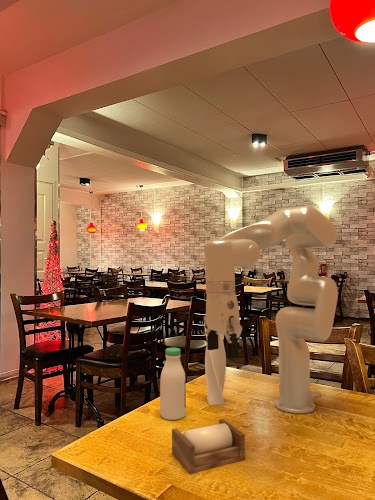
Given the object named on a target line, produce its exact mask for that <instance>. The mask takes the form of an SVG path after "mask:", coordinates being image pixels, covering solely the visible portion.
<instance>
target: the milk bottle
mask: <svg viewBox="0 0 375 500" xmlns="http://www.w3.org/2000/svg"><path fill="white" fill-rule="evenodd" d="M164 352H165V362H164V366H163V367H162V371H161V374H160V379H159V380H160V381H159V382H160V383H159V384H160V385H159V387H160V388H159V389H160V390H159V392H160V393H159V394H160V395H159V398H160V399H159V407H160V408H159V409H160V411H159V412H160V413H159V414H160V417H161V418H162V419H165V420H168V421H175V420H176V421H177V420H182V419H183V418H184V417H186V415H187V412H186V411H187V400H186V398H187V396H186V395H187V393H186V391H187V390H186V388H187V387H186V385H187V384H186V373H185V370H184V368H183V365H182V361H181V348H178V347H167V348H166V349H165V351H164Z"/></svg>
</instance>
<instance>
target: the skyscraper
mask: <svg viewBox="0 0 375 500" xmlns="http://www.w3.org/2000/svg"><path fill="white" fill-rule="evenodd" d="M203 326H204V331H205V338H206V339H207V334H206V328H205V322H204V325H203ZM216 334H218V344H219V348H218V349H215V350H208V349H207V344H206V347H205V352H204V353H205V355H204V356H205V357H204V369H205V371H204V372H205V382H206V383H205V384H206V392H207V394H206V401H207V402H208V406H217V405H219V406H220V405H226V403H225V399H224V397H223V393H224V388H225V381H226V372H227V356H226V350H225V349H226V347H225V345H224V339H225V338H224V337H225V334H222V333H219V332H217V333H216Z"/></svg>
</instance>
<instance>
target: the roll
mask: <svg viewBox="0 0 375 500" xmlns="http://www.w3.org/2000/svg"><path fill="white" fill-rule="evenodd" d="M183 435H184V436H185V437H186V438H187V439H188V440H189V441H190V442H191V443H192V444H193V445H194V446H195V456H197V455H201V454H206V453H210V452H214V451H218V450H222V449H226V448H231V447H232V435H231V431H230V429H229V427H228V426H227V424H225V423H222V424H219V423H218V424H213V425H208V426H203V427H198V428H193V429H188V430H185V431H184V434H183Z"/></svg>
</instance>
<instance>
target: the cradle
mask: <svg viewBox="0 0 375 500" xmlns="http://www.w3.org/2000/svg"><path fill="white" fill-rule="evenodd" d="M222 423H225V424H227V426H228V427H229V429H230V431H231V435H232V447H231V448H226V449H222V450H218V451H214V452H210V453H206V454H201V455H197V456H195V446H194V445H193V444H192V443H191V442H190V441H189V440H188V439H187V438H186V437H185V436H184V434H183V433H182V432H181V431H180V430H179V429H178V428H172V429H171V454H172V455H173V457H174V458H175V459H176V460H177V461H178V462H179V463H180V465H182V467H183V468H184V469H185V471H186V472H188V473H189V475H190V474H195V473H197V472H202V471H206V470H210V469H214V468H217V467H221V466H225V465H228V464H232V463H236V462H240V461H245V460H246V456H245V455H246V452H245V451H246V450H245V449H246V444H245V443H246V442H245V441H246V435H245V434H244V433H243V432H242V431H241V430H239V429H238V428H236V427H235V426H234V425H232V424H231V423H230V422H228V421H227V420H225V419H224V418H222V419H219V420H218V424H222Z"/></svg>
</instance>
